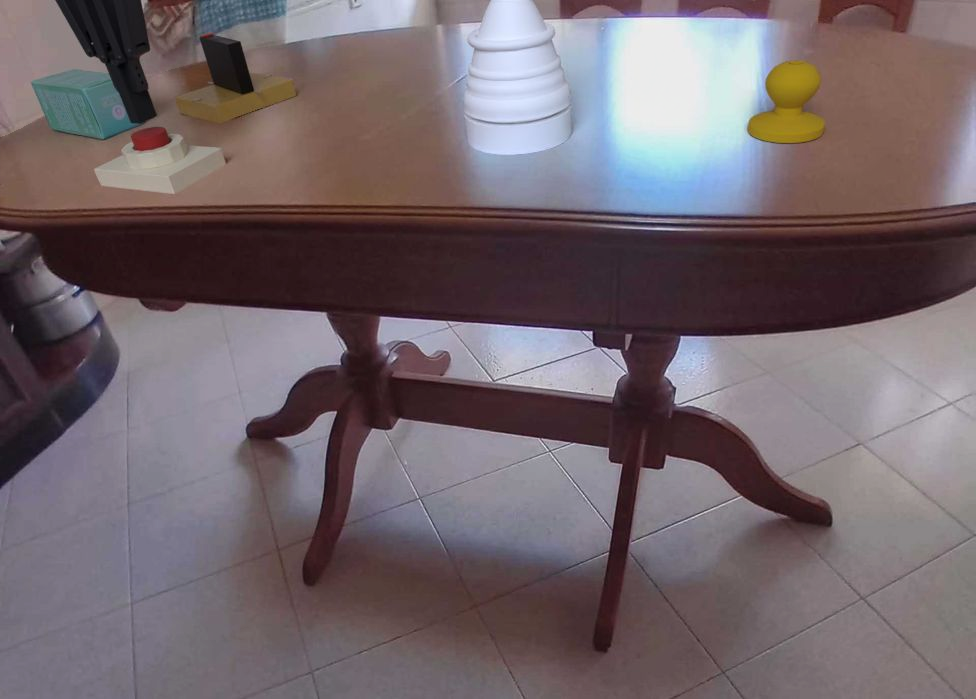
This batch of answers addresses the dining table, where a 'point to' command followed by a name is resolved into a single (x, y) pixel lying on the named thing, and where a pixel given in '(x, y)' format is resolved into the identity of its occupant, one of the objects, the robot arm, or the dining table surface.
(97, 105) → the box
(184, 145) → the bell block
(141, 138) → the bell button
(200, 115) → the lock plate
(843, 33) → the dining table surface
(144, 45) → the robot arm
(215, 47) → the lock knob
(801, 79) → the doorknob
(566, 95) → the honey pot
